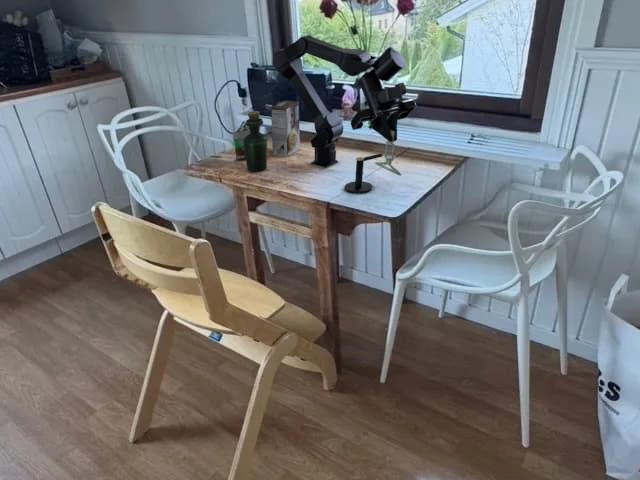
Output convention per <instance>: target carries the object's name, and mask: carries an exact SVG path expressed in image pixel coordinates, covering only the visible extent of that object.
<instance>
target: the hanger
mask: <svg viewBox="0 0 640 480" xmlns="http://www.w3.org/2000/svg"><path fill="white" fill-rule="evenodd" d="M390 132H391V134H392V138H393V141H392V142H389V141H388V140H387V141H386V142H385V150H384V158H385V161H376V162H375V163H374V164H375V165H376V166H378V167H380V168H382V169H385V170H387V171H389V172H391V173H393V174H395V175H397V176H399V177H400V176H402V173H401V172H400V171H399V170H398V169H397V168H396V167H395V166H394V165H392V162H393V161H394V156H395V143H394V142H395V141H394V133H395V131H392V130H390ZM388 145H391V146H392V149H391V157H389V156H388V155H387V154H388V148H389V147H388ZM388 166H389V167H388Z"/></svg>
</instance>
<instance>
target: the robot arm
mask: <svg viewBox="0 0 640 480" xmlns="http://www.w3.org/2000/svg"><path fill="white" fill-rule="evenodd" d="M306 54H308V55H310V56H313V57H316V58H319V59H321V60H324V61H325V62H329V63H331V64H333V65H335V66H337V67H338V69H340V71H342V72H343V73H344V74H346V75H347V76H349V77H356V78H355V81H354V83H353V85H352V88H353V89H359V90H361V92H362V94H363V96H364V99H365V101H364V102H363V104H364V107H368V108H363V109H358V110H357V111H356V113H355V114H354V116H353V117H352V118H351V120H350V126H351V129H352V130H353V131H356V130H359V129H360V130H361V129H362V128H363V126H364V123H366V122H370V125H369V126H368V129H369V130H373V131H375V132H376V133H378V134H379V135H380V136H382V138H384V139H385V140H387V141H389V142H392V141H393V138H392V134H391V132H390V130H392V131H395V133H394V142H396V141H397V140H398V121H399V120H404V119H406V118H408V117H409V116H410V115H411V114H412V112H413V111H414V110H415V109H416V108H417V104H416V102H415V100H414V99H412V98H410V99H406V100H401V101H399V103H398V104H397V105H396V107H393V106H395V104H396V103H397V102H396V101H398V100H400V99H403V98H404V97H403V96H405V95H406V94H407V93H408V91H407V86H406V85H405V83H404V82H399V83H397V84H395V85H394V86H392V87H385V86H384V84H383V82H389V81H390V80H392V79H393V78H394V77H395V76H396V75H398V74H399V73H400V72H401V71H402V70H403V69H404V68H405V67H406V60H405V57H404V56H403V54H401V52H400V51H398V50H396V49H395V48H394V47H393V46H391V45H390V46H388V47H387V48H386V49H385V50H384V51H383V53H382V54H381V55H380V56H375V55H371V53H370V52H369V51H368V50H365V49H358V48H344V47H341V46H338V45H336V44H333V43H330V42H327V41H324V40H321V39H319V38H316V37H313V36H312V35H311V34H307V35H303V36H301V37H298V39H297V40H296V41H294V42H292V43H291V44H290V45H288V46H287V47H284V48H282V49H279V50H276V51H275V52H274V54H273V55H272V62H271V63H272V66H273V68H274V69H275V70H276V71H277V73H278V74H279V75H280V76H282V77H283V78H285V79H286V80H288V81H289V82H290V84H291V86H292V87H293V88H294V90H295V92H296V93H297V95H298V97H299V98H300V100H301V101H302V103H303V104H304V106H305V108H306V109H307V112H309V114H310V116H311V118H312V119H313V124H314V125H313V126H314V131H315V133H316V135H315V136H314V137H313V138H312V139H311V140H310V144H311V147H312V148H314V160H313V161H311V162H310V164H311V165H313V166H318V167H321V168H328V167H330V166H332V165H335V164H337V163H338V162H339V161H338V160H337V159H336V158H337V150H336V144H335V143H337V142H339V140H340V139H339V138H340V137H342V135H343V132H344V123H343V122H344V120H342V119H341V118H340V115H339V112H337V110H334V111H332V112H331V111H329V110H328V109H327V107H326V105H325V104H324V102H323V101H322V100H321V98H320V96H319V95H318V93H317V91H316V89H315V88H314V86H313V85H312V83H311V81H310V80H309V79H308V76H307V75H306V74H305V72H304V69H303V60H302V57H304V56H305V55H306ZM369 70H370V71H369ZM361 74H362V75H361ZM359 75H361V76H360V77H357V76H359Z"/></svg>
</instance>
